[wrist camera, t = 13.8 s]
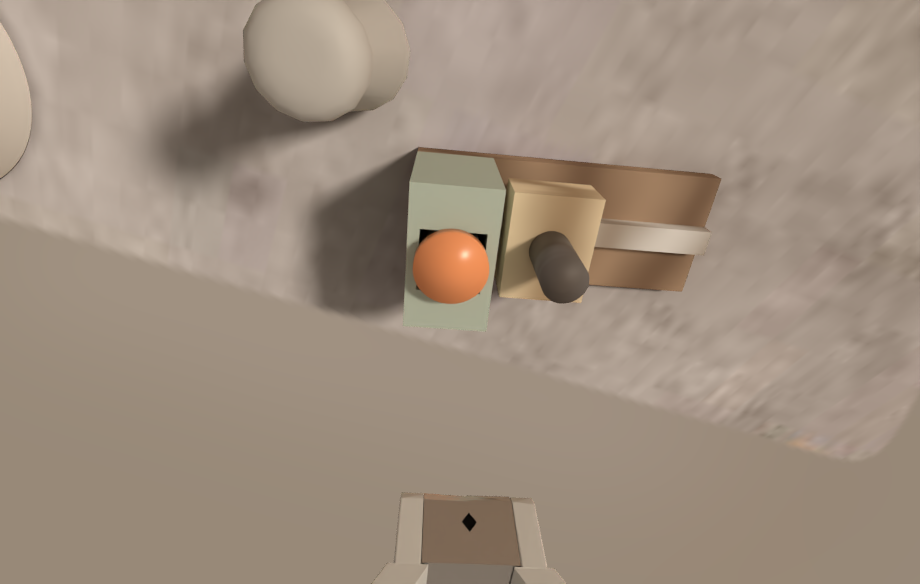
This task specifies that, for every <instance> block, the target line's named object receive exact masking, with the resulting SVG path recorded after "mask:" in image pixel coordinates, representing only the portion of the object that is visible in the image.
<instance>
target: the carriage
mask: <svg viewBox="0 0 920 584" xmlns="http://www.w3.org/2000/svg"><path fill="white" fill-rule="evenodd" d="M605 202H606V200H605V199H604V198H603V197H602V196H601V195H600V194H599V193H598V192H597V191H596V190H595V189H594V188H593V187H592V186H591V185H583V184H572V183H560V182H549V181H538V180H526V179H515V178H508V185H507V192H506V199H505V206H504V213H503V220H502V227H501V234H500V241H499V248H498V255H497V262H496V269H495V279H496V284H497V289H498V294H499V297H507V298H521V299H535V300H549V301H553V302H556V303H570V302H576V303H581V301H582V296H583V294H584V293H585V291H586V290H587V288H588V285H589V273H588V272H589V268H590V264H591V259H592V255H593V251H594V247H595V243H596V239H597V235H598V231H599V226H600V222H601V218H602V214H603V210H604V206H605Z"/></svg>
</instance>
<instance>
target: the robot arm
mask: <svg viewBox="0 0 920 584" xmlns="http://www.w3.org/2000/svg"><path fill="white" fill-rule="evenodd" d="M31 123H32V108H31V98H30V92H29V87H28V83H27V79H26V76H25V73H24V70H23V67H22V64H21V61H20V59H19V56H18V54H17V52H16V50H15V48H14V46H13V44H12V42H11V40H10V38H9V36H8V34H7V32H6V31H5V29H4V27H3V26H2V24H1V23H0V178H1V177H3V176H4V175H6V174H7V173H8V172H9V171H10V170H11V169H12V168H13V167H14V166H15V165H16V164H17V162H18V161H19V160H20V158H21V156H22V155H23V153H24V151H25V148H26V146H27V143H28V140H29V136H30V131H31ZM371 584H566V582H565V581H564V580H563V579H562V577H561V576H560V575H559V574H558V573H557V571H556V570H555V569H554V568H547V563H546V558H545V554H544V549H543V543H542V538H541V533H540V528H539V523H538V518H537V513H536V508H535V503H534V501H533V500H532V499H531V498H514V497H510V498H509V497H500V496H451V495H439V494H424V495H423V493H405V492H402V493H401V497H400V504H399V514H398V525H397V535H396V546H395V556H394V563H386V565H385V566H384V567H383V569H382V570H381V572H380V573H379V574H378V575H377V577H376V578H375V579H374V581H373V582H372V583H371Z"/></svg>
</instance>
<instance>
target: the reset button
mask: <svg viewBox="0 0 920 584" xmlns="http://www.w3.org/2000/svg"><path fill="white" fill-rule="evenodd" d="M488 276H489V261H488V256H487V253H486V250H485V248H484V246H483V245H482V243H481V242H480V241H479V238H478V234H477V233H468V232H466V231H463V230H460V229H442V230H428V234H427V237H426V238H425V239H424V240H423V241H422V242H421V243H420V244H419V246H418V248H417V250H416V252H415V256H414V261H413V277H414V280H415V282H416V284H417V286H418V288H419V289H420V290H421V291H422V292H423V293H424V294H425V295H426V296H427V297H429V298H430V299H432V300H434V301H437V302H440V303H445V304H457V303H462V302H465V301H467V300H470V299H471V298H473V297H475V296H476V295H477V294H478V293H479V292H480V291H481V290H482V289H483V287H484V286H485V284H486V282H487V280H488Z"/></svg>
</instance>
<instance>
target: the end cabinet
mask: <svg viewBox="0 0 920 584" xmlns="http://www.w3.org/2000/svg"><path fill="white" fill-rule="evenodd" d="M505 195H506V188H505V186H504V183H503V181H502V178H501V176H500V173H499V171H498V168H497V166H496V163H495V160H494V158H487V157H476V156H465V155H454V154H443V153H432V152H421V151H418V152H417V155H416V159H415V163H414V167H413V171H412V174H411V178H410V182H409V204H408V226H407V248H406V270H405V292H404V314H403V326H411V327H425V328H440V329H455V330H470V331H485V332H486V329H487V322H488V315H489V308H490V301H491V294H492V287H493V280H494V273H495V266H496V259H497V251H498V244H499V237H500V230H501V223H502V216H503V209H504V202H505ZM423 229H428V230H442V229H460V230H463V231H466V232H468V233H477V234H478V238H479V241H480V242H481V243H482V245H483V246H484V248H485V250H486V253H487V256H488V261H489V276H488V280H487V282H486V284H485V286H484V287H483V289H482V290H481V291H480V292H479V293H478V294H477V295H476V296H475V297H473V298H471V299H470V300H467V301H465V302H462V303H457V304H445V303H440V302H437V301H434V300H432V299H430V298H429V297H427V296H426V295H425V294H424V293H423V292H422V291H421V290H420V289H419V288H418V286H417V284H416V282H415V280H414V277H413V261H414V256H415V252H416V250H417V248H418V246H419V244H420V243H421V242H422V241H423V240H422V235H423Z"/></svg>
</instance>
